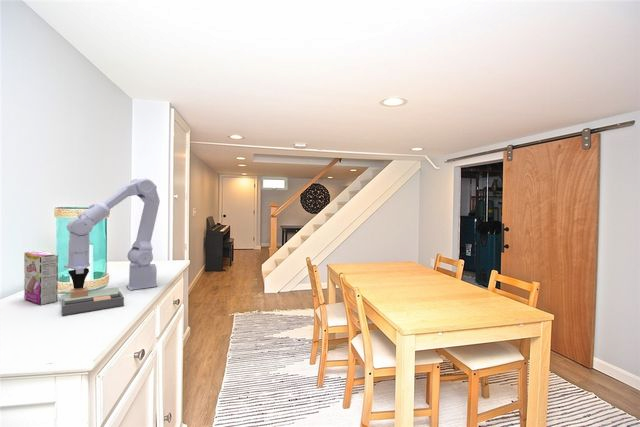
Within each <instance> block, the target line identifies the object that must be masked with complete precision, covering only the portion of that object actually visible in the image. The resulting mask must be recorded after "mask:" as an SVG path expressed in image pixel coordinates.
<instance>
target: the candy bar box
mask: <svg viewBox="0 0 640 427" xmlns="http://www.w3.org/2000/svg"><path fill="white" fill-rule="evenodd" d="M23 256H24V259H23V260H24V262H23V263H24V264H23V266H24V267H23V269H24V272H23V273H24V282H23V284H24V287H23V288H24V290H23V292H24V295H23V296H24V297H23V299H24V300H25V301H28V302H31V303H34V304H36V305H39V306H43V305H47V304H52V303H55V302H58V292H59V291H58V288H59V286H58V285H59V284H58V272H59V269H58V267H59V266H58V264H59V258H58V257H59V254H57V253H53V252H49V251H43V250H36V251H33V250H32V251H26V252H24V254H23Z"/></svg>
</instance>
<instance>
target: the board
mask: <svg viewBox="0 0 640 427" xmlns="http://www.w3.org/2000/svg"><path fill="white" fill-rule="evenodd" d="M119 291H120V292H121V290H120V289H119V287H112V288H105V289H98V290H96V289H95V290H88V296H85V297H78V298H71V296H70V293H65V294H61V300H62V299H64V300H65V303H69V302H76V301H83V300H90V299H93V298H94V297H101V296H108V295H110V296H117V295H118V292H119Z"/></svg>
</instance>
